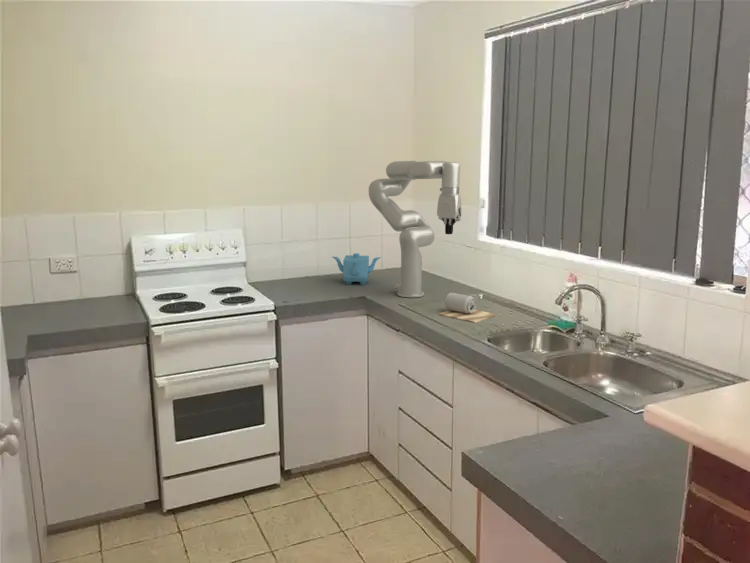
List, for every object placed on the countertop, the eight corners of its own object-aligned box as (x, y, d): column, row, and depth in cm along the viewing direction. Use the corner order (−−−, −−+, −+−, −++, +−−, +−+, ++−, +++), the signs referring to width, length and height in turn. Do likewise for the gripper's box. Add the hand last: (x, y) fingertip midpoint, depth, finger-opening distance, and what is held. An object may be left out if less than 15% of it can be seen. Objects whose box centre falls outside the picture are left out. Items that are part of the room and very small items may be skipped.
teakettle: (357, 277, 352) (357, 249, 349) (382, 282, 339) (382, 254, 336) (329, 282, 339) (329, 253, 336) (354, 288, 326) (354, 258, 323)
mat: (438, 314, 278) (438, 313, 278) (460, 307, 290) (460, 306, 290) (475, 322, 266) (475, 321, 266) (496, 315, 278) (496, 314, 278)
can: (445, 313, 284) (470, 318, 276) (441, 299, 280) (466, 304, 272) (454, 302, 288) (478, 307, 281) (450, 288, 284) (475, 293, 277)
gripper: (431, 190, 289) (429, 233, 293) (459, 192, 279) (458, 236, 283) (441, 189, 294) (440, 231, 298) (469, 191, 285) (468, 234, 288)
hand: (448, 233), depth 291 cm, fingers closed
